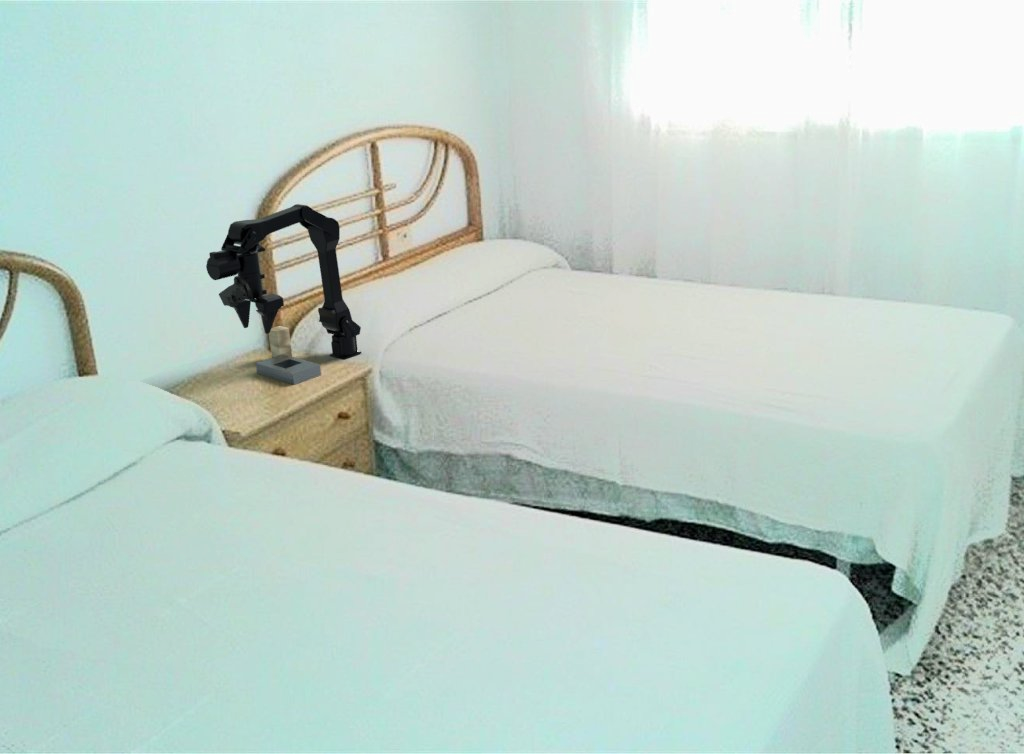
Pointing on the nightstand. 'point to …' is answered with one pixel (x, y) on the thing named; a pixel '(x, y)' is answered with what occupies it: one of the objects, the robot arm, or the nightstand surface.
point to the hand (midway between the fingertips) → (256, 330)
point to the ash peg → (280, 341)
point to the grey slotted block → (288, 369)
